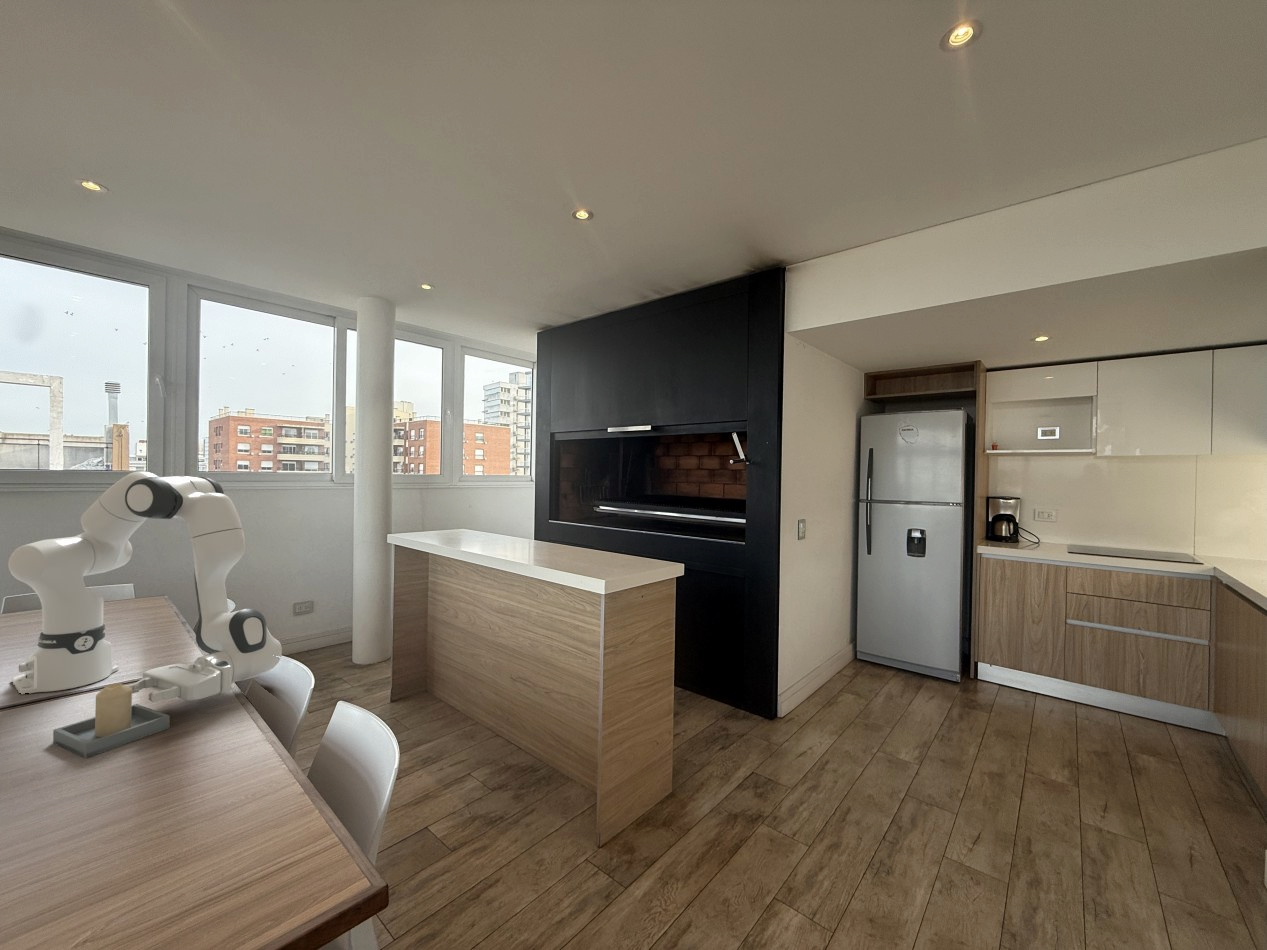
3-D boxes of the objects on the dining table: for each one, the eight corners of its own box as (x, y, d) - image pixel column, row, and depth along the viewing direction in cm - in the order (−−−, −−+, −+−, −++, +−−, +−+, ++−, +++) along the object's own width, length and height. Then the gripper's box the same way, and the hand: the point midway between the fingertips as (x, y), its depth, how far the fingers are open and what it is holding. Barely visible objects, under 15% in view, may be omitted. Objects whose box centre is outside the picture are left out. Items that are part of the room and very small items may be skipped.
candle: (137, 728, 113) (138, 682, 113) (104, 740, 108) (105, 692, 108) (121, 723, 115) (122, 678, 115) (88, 735, 110) (89, 688, 110)
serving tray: (53, 743, 108) (53, 729, 108) (136, 715, 120) (136, 703, 120) (86, 758, 102) (86, 744, 102) (169, 728, 115) (169, 715, 115)
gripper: (185, 653, 132) (114, 672, 119) (234, 666, 124) (164, 687, 111) (185, 678, 132) (114, 699, 119) (234, 692, 124) (163, 717, 111)
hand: (138, 693), depth 115 cm, fingers open, 8 cm apart
